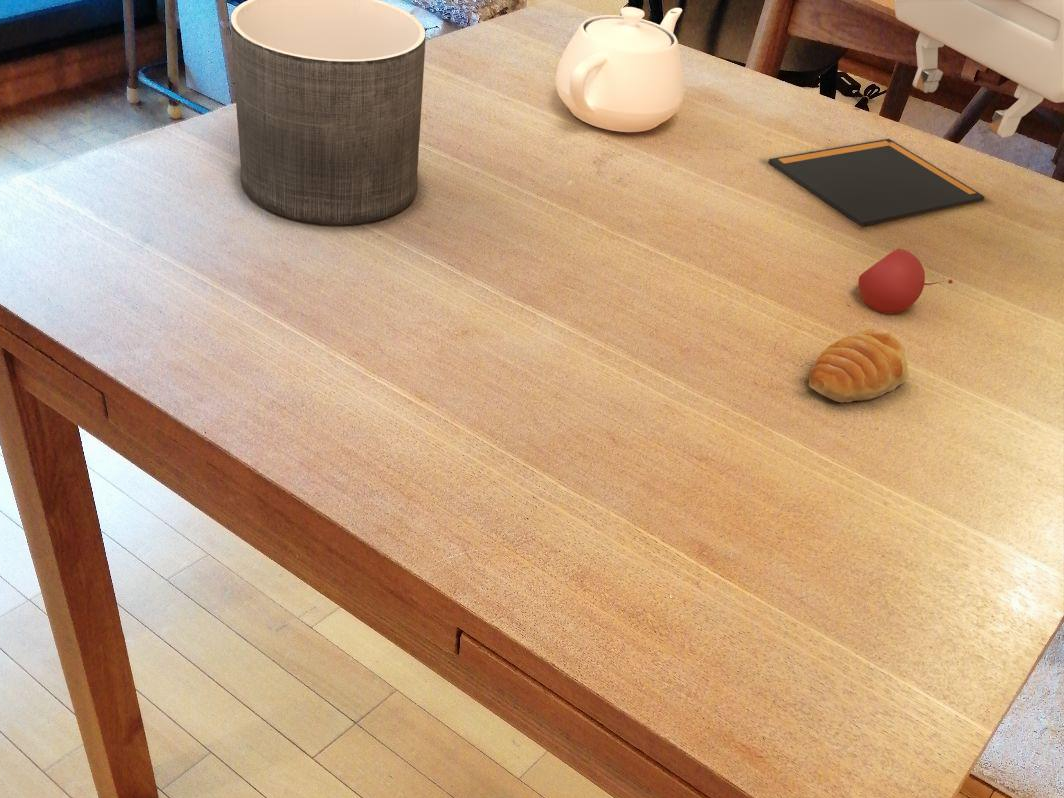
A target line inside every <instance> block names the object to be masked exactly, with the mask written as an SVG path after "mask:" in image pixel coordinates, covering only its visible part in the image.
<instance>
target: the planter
mask: <svg viewBox="0 0 1064 798" xmlns="http://www.w3.org/2000/svg"><path fill="white" fill-rule="evenodd" d="M229 21H230V34H231V48H232V49H231V51H232V63H233V78H234V91H235V92H234V93H235V104H236V106H235V107H236V120H237V134H238V147H239V149H238V150H239V160H240V169H239V170H240V171H239V172H240V183H241V187H242V189H243V190H244V192H245V194H246V195H247V196H248V197H249V198H250V199H251V200H252V201H253V202H255V203H256V204H258V205H259V206H261V207H262V208H264V209H266V210H268V211H270V212H272V213H274V214H277V215H279V216H283V217H285V218H288V219H291V220H292V219H293V220H296V221H301V222H305V223H306V222H307V223H312V224H321V225H358V224H365V223H371V222H375V221H379V220H382V219H386V218H389V217H392V216H394V215H396V214H398V213H400V212H401V211H403V210H404V209H406V208H407V207H408V206H409V205H411V203H412V202H413V201H414V199H415V198H416V196H417V194H418V193H417V192H418V166H419V152H420V137H421V136H420V135H421V122H422V121H421V119H422V105H423V104H422V103H423V90H424V89H423V87H424V73H425V72H424V71H425V56H426V41H427V39H426V37H427V31H426V29H425V26H424V24H422V22H421V21H420V20H419V19H418V18H417V17H416V16H414V15H413V14H411V13H410V12H408V11H406V10H404V9H402V8H400V7H398V6H396V5H393V4H390V3H388V2H385V1H382V0H246V1H243V2H242V3H240V4H238V5H237V6H236V7H235V8H234V9H233V10H232V12H231V14H230V19H229Z"/></svg>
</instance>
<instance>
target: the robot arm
mask: <svg viewBox="0 0 1064 798" xmlns="http://www.w3.org/2000/svg"><path fill="white" fill-rule="evenodd" d="M893 9H894V14H895V19H897V20H898V21H899V22H902V23H903V24H904V25H907V26H908V27H911V28H912V29H914V30H916V31H918V32H919V33H918V36H917V39H916V43H915V49H916V51H915V52H916V64H917V65H916V66H917V70H916V73H915V76H914V79H913V81H912V86H913V87H914V88H915V89H917V90H919V91H921V92H922V93H925V94H928V93H935V91H936V90H937V89H938V87H939V85H940V84H939V82H940V81H941V79H942V77H943V74H944V71H942V70H940V69H939V68H938V65H939V64H938V63H939V61H938V59H939V48H943V47H944V46H946V47H948V48H950V49H952V50H954V51H956V52H957V53H959V54H961V55H964V56H965V57H967V58H969V59H971V60H973V61H975V62H977V63H978V64H980V65H982V66H983V67H986V68H987V69H990V70H991V71H993V72H996V73H997V74H999V75H1001V76H1002V77H1005V78H1007V79H1009V80H1010V81H1012V82H1014V83H1015V84H1017V87H1016V90H1015V92H1014V94H1013V96H1014V98H1016V99H1017V100H1016V101H1015V102H1014V103H1013V104H1012V105H1011V106H1010V107H1008V108H1007V109H1004V110H1002V109H999V110H995V112H994V114H993V116H992V122H990V123H989V126H988V130H989V131H990V132H992V133H993V134H995V135H997V136H998V137H1000V138H1002V139H1003V138H1009V137H1012V136H1013V135H1014V134H1015V133H1016V131H1017V129H1018V126H1019V124H1020V122H1021V120H1022V118H1023V117H1025V116H1026V115H1027V114H1028V113H1030V112H1031V111H1033V109H1035V108H1036V107H1037V106H1039V104H1041V103H1042V102H1043V101H1044V99H1046V100H1048V101H1049V102H1052V103H1057V104H1058V103H1064V0H893Z"/></svg>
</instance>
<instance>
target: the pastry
mask: <svg viewBox="0 0 1064 798" xmlns="http://www.w3.org/2000/svg"><path fill="white" fill-rule="evenodd" d="M809 371H810V372H809V376H808V387H809V388H810V389H812V390H813V391H815V392H817V393H818V394H820V395H822V396H824V397H826V398H828V399H829V400H832V401H834V402H838V403H840V404H842V403H844V402H845V403H851V402H855V401H862V402H865V401H868V400H873V399H876V398H878V397H880V396H884V395H885V394H886V393H890V392H893V391H895V389H896V388H897V387H898V386H900V385H902V384H903V383H904V382H905V381H907V380H908V379H909V376H910V372H909V368H908V360H907V357H906V350H905V348H904V346H903V344H902V343H901V342H900V341H899V340H898V338H896V337H894V336H893V335H892V334H890V333H888V332H885V331H876V330H874V329H873V328H869V329H867V330H862V331H861V330H860V331H859V332H857V333H856V334H853V335H848V336H845V337H843V338H841V339H838V340H837V341H836V342H834V343H832V344H830V345H829V346H827V348H825V349H824V350H822V352H821V353H820V355H819V356H818V357H817V359H816V362H815V363H814V365H813V366H812V367H811V368H810V370H809Z"/></svg>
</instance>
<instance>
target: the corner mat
mask: <svg viewBox="0 0 1064 798" xmlns="http://www.w3.org/2000/svg"><path fill="white" fill-rule="evenodd" d="M768 164H769V165H771V166H772V167H774V168H775V169H777V170H778V171H779V172H781V173H782V174H784V175H785V176H787V177H789V178H790V179H791V180H793V181H794V182H795V183H797V184H798V185H800V186H801V187H803V188H804V189H806V190H807V191H809V192H810V193H812V194H813V195H815V196H816V197H817V198H819V199H821V200H822V201H824V202H825V203H826V204H828V205H829V206H831V207H832V208H833V209H835V210H836V211H838V212H839V213H841V214H843V215H844V216H845V217H847V218H848V219H850V220H851V221H853V222H855V223H856V224H857V225H859V226H860V227H866V226H870V225H875V224H880V223H884V222H889V221H893V220H894V221H895V220H898V219H902V218H907V217H913V216H917V215H921V214H926V213H931V212H935V211H941V210H944V209H949V208H954V207H958V206H964V205H968V204H972V203H977V202H981V201H984V199H985V198H986V196H985V195H983V194H982V193H980V192H979V191H976V190H975V189H974V188H972V187H970V186H968V185H967V184H965V183H963V182H962V181H960V180H958V179H956V178H955V177H953V176H952V175H950V174H949V173H947V172H945V171H944V170H942V169H940V168H939V167H937V166H935V165H934V164H932V163H931V162H929V161H927V160H926V159H924V158H922V157H921V156H919V155H917V154H916V153H914V152H912V151H910V150H908V148H905V147H904V146H902V145H901V144H899V143H897V142H895V141H894V140H892V139H891V138H885V139H884V138H883V139H879V140H874V141H868V142H861V143H856V144H850V145H843V146H838V147H831V148H826V149H820V150H814V151H808V152H801V153H796V154H791V155H785V156H779V157H771V158H768Z"/></svg>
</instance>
